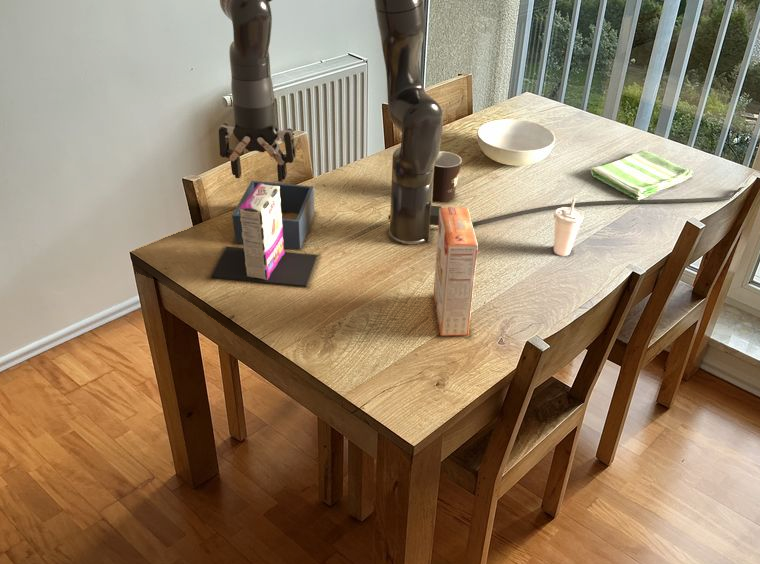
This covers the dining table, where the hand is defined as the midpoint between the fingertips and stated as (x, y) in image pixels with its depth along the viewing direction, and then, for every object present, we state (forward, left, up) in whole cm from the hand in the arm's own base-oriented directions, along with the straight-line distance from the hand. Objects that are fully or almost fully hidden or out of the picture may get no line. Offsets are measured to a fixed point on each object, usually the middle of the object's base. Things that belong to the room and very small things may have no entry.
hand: (259, 178), depth 158 cm
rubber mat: (0, 0, -21) cm, 21 cm away
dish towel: (-87, -60, -21) cm, 107 cm away
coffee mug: (-36, -40, -21) cm, 57 cm away
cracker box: (-40, +11, -21) cm, 46 cm away
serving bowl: (-53, -65, -21) cm, 86 cm away
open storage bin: (+2, -16, -21) cm, 26 cm away
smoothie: (-64, -18, -21) cm, 69 cm away
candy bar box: (0, 0, -20) cm, 20 cm away
